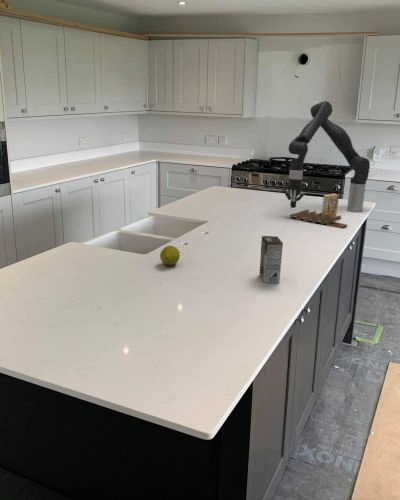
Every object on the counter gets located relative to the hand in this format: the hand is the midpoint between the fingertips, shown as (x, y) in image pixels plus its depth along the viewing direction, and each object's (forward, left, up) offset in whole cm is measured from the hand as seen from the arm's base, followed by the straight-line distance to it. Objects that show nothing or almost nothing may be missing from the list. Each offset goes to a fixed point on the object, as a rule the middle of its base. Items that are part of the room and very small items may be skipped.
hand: (293, 207), depth 294 cm
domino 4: (0, +14, -5) cm, 15 cm away
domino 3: (0, +9, -5) cm, 11 cm away
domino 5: (0, +19, -5) cm, 19 cm away
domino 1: (0, 0, -5) cm, 5 cm away
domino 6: (0, +22, -6) cm, 23 cm away
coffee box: (+97, +42, -6) cm, 106 cm away
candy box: (-7, +19, -6) cm, 21 cm away
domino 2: (0, +4, -5) cm, 7 cm away
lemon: (+111, +3, -6) cm, 111 cm away
